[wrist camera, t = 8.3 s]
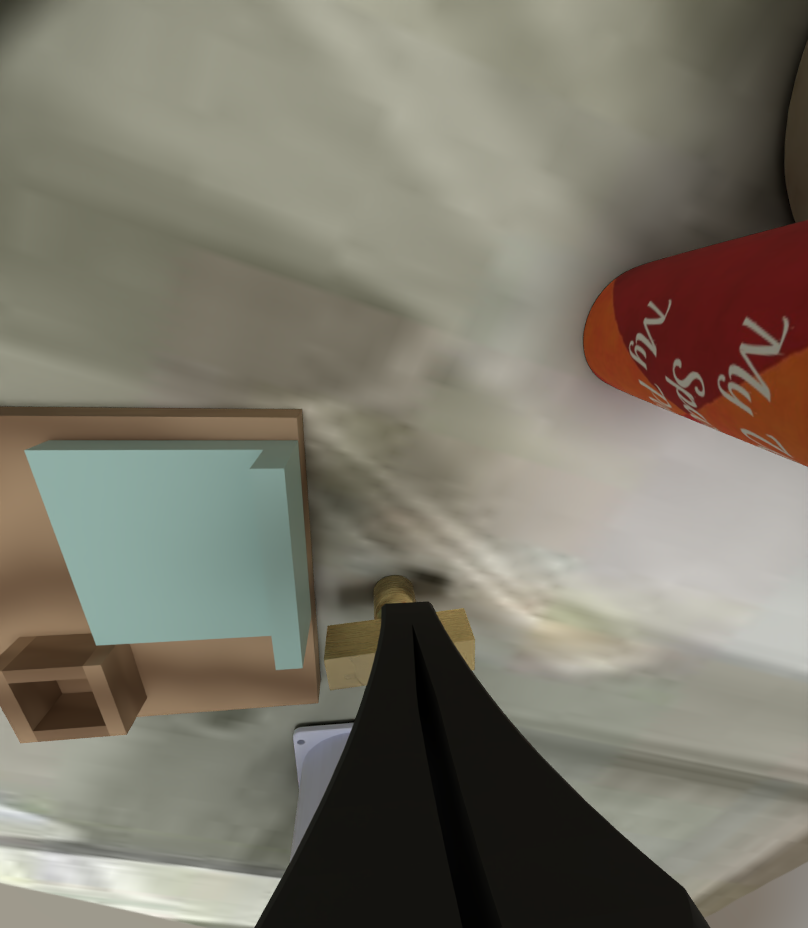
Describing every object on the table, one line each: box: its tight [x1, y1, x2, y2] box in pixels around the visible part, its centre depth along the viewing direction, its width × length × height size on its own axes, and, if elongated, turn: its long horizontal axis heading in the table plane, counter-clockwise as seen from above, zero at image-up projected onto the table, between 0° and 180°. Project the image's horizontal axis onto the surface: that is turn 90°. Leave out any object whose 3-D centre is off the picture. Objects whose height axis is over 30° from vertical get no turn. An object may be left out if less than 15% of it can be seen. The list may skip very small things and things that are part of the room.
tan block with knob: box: [324, 575, 475, 690], centre depth 20 cm, size 7×2×5 cm, turn 94°
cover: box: [24, 440, 311, 670], centre depth 16 cm, size 10×10×3 cm
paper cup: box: [583, 220, 808, 467], centre depth 11 cm, size 8×8×14 cm
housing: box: [0, 407, 321, 743], centre depth 18 cm, size 18×16×4 cm
